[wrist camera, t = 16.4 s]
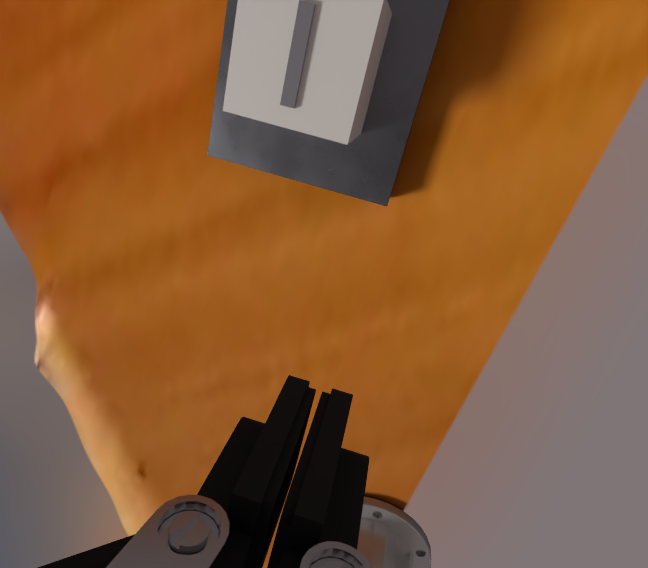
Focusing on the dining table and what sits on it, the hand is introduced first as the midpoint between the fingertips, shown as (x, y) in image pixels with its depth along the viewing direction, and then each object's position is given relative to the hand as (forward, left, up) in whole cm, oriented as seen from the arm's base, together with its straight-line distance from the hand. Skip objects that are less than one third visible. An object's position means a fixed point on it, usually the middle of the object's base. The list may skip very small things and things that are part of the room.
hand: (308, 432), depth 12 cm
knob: (+8, +6, -20) cm, 23 cm away
